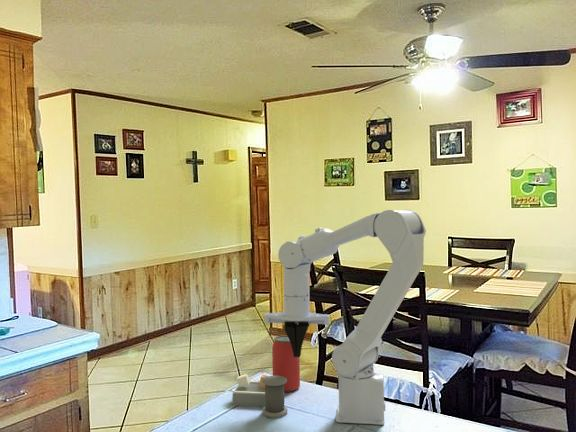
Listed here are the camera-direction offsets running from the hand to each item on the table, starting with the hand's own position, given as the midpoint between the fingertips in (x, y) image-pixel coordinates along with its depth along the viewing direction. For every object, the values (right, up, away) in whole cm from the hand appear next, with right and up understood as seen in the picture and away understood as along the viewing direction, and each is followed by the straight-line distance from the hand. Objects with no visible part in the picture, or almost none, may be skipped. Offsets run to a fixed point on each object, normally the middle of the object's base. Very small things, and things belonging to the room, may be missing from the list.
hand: (297, 355), depth 110 cm
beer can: (-2, -10, +8) cm, 14 cm away
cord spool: (-5, -10, -6) cm, 13 cm away
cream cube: (-12, -8, +2) cm, 14 cm away
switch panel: (-10, -10, +2) cm, 14 cm away
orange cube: (-8, -8, +1) cm, 11 cm away
